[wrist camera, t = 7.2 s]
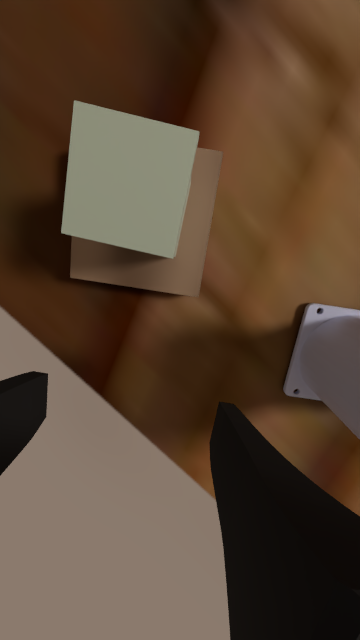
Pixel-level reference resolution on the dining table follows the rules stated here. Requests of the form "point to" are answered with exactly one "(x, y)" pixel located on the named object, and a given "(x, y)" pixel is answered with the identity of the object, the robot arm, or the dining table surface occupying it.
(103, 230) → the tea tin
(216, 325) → the dining table surface
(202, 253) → the tan flat square block
